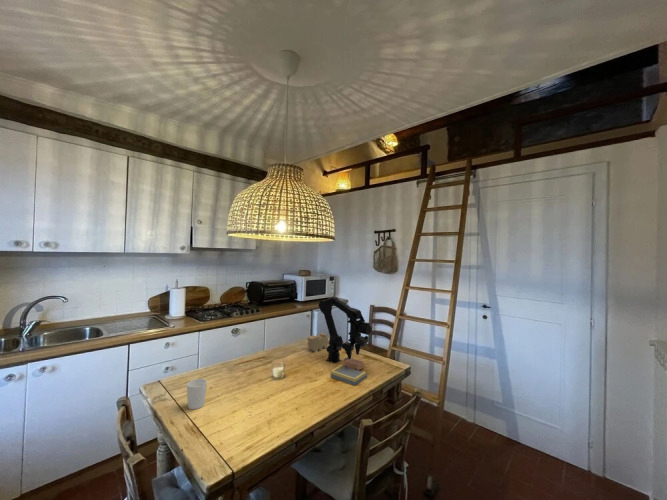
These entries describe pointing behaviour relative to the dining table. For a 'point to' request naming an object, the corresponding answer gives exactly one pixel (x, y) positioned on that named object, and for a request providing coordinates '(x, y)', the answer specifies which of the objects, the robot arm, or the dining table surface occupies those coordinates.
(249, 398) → the dining table surface
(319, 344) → the toy train
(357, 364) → the pink panel on base
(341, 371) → the dock
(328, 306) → the robot arm
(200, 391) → the white cup
